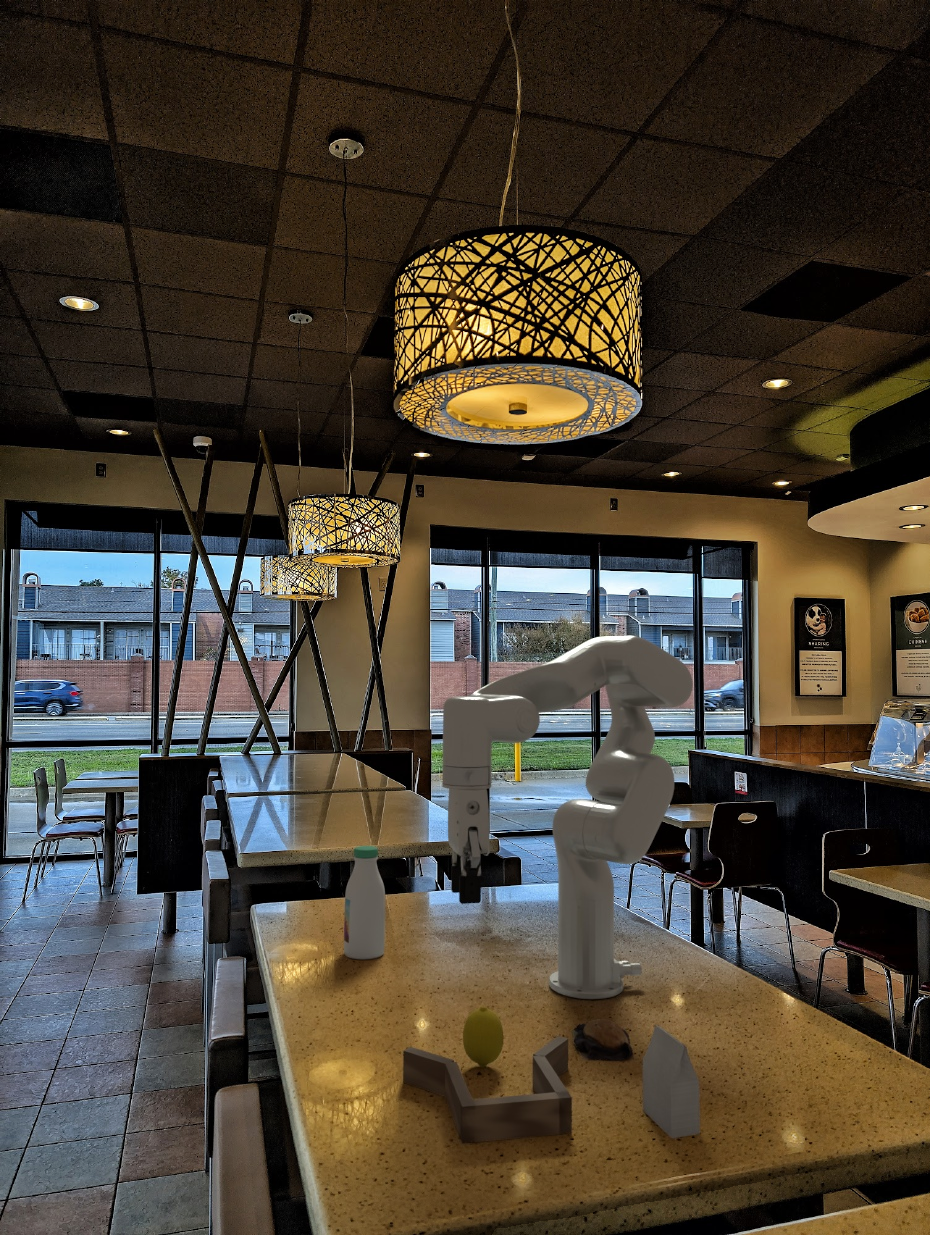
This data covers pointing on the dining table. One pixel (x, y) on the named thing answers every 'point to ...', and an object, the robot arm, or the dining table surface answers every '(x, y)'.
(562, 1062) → the corral
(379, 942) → the milk bottle
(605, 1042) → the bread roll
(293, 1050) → the dining table surface
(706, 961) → the dining table surface
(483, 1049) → the lemon
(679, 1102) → the grey block
